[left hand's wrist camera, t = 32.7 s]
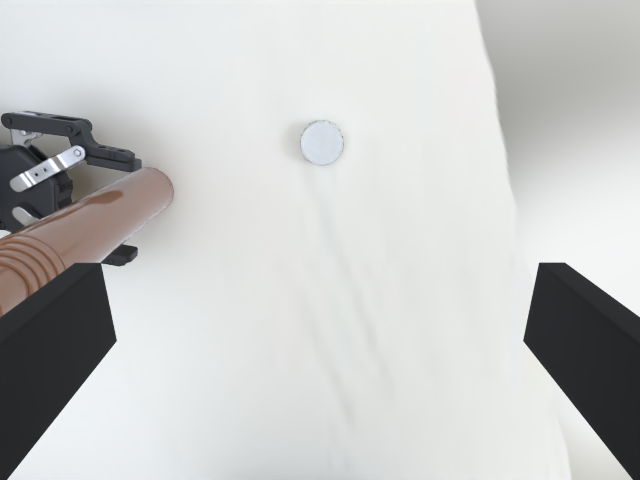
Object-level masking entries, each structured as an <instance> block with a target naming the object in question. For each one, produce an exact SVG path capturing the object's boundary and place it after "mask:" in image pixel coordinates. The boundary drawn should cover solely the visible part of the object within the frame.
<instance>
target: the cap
mask: <svg viewBox="0 0 640 480" xmlns="http://www.w3.org/2000/svg"><path fill="white" fill-rule="evenodd" d="M300 143H301V150H302V153H303V155H304V156H305V158H306V159H307V160H308V161H310V162H311V163H313V164H316V165H328V164H330V163H332V162H334V161H335V160H336V159H337V158H338V157H339V156H340V154H341V152H342V149H343V137H342V136H341V133H340V130H339V129H338V128H337V127H336V125H334V124H332V123H330V121H329V122H328V121H316V122H313V123H310V125H309V126H308V127H307V128H305V130H304V132H303V134H302V138H301V141H300Z"/></svg>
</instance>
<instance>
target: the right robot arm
mask: <svg viewBox="0 0 640 480" xmlns="http://www.w3.org/2000/svg"><path fill="white" fill-rule="evenodd" d="M1 122H2V124H3V125H4V126H5V127H6V128H8V129H10V130H11V137H12V144H13V145H12V146H9V145H4V144H0V230H6V231H9V232H11V233H13V232H15V231H17V230H19V229H21V228H23V227H25V226H27V225H29V224H31V223H33V222H35V221H37V220H39V219H41V218H43V217H45V216H47V215H49V214H51V213H53V212H55V211H57V210H59V209H61V208H63V207H65V206H67V205H69V204H71V203H72V200H71V192H72V188H73V185H72V180H69V177H68V175H67V174H66V173H65V172H66V171H68V170H70V169H72V168H74V167H76V166H78V165H79V164H81V163H82V162H84V161H87V164H89V165H94V166H100V167H105V168H110V169H115V170H121V171H126V172H135V171H137V170H139V169H141V160H140V159H136V158H135V154H134V153H133V152H131V151H129V150H125V149H119V148H114V147H109V146H104V145H100V144H98V143H96V142H95V140H94V139H93V137H92V134H91V131H92V124H91V122H90V121H89V120H87V119H82V118H75V117H67V116H60V115H53V114H45V113H38V112H31V111H22V112H13V113H5V114H3V115H2V116H1ZM43 133H45V134H52V135H60V136H67V137H68V138H69V140H70V143H71V146H72V147H71V148H69V149H67V150H65V151H63V152H62V153H60V154H58V155H56V156H54V157H51V158H48V157H47V156H46V155H45V154H44V153H43V152H41V151H40V150H39V149H38V148H37V147H35V146H34V145H32V144H31V140H32V139H35V138H39V137H41V136H42V134H43ZM137 252H138V248H137V247H134V246H128V245H123V244H122V245H120V246H119V247H118V248H117V249H116V250H114V251H113V252H112V253H111V254H110V255H108V256H107V257H106V258H105V259H104V260H102V261H101V262H100V263H103V264H109V265H114V266H123V265H125V264H126V263H128V262H131V261H132V260H133V259H134V258H135V257H136V256H137Z"/></svg>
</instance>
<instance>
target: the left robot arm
mask: <svg viewBox="0 0 640 480" xmlns="http://www.w3.org/2000/svg"><path fill="white" fill-rule="evenodd" d="M116 341H117V340H116V335H115V330H114V325H113V320H112V315H111V310H110V305H109V301H108V296H107V291H106V286H105V281H104V276H103V271H102V266H101V263H74V264H73V265H71V266H70V267H69V268H67V269H66V270H64V271H63V272H62V273H60V274H59V275H58V276H56V277H55V278H53V279H52V280H51V281H49V282H48V283H47V284H45V285H44V286H43V287H41V288H40V289H38V290H37V291H36V292H34V293H33V294H32V295H30V296H29V297H27V298H26V299H25V300H23V301H22V302H21V303H19V304H18V305H16V306H15V307H14V308H12V309H11V310H10V311H8V312H7V313H6V314H4V315H3V316H1V317H0V480H7V479H8V478H9V476H10V475H11V474H12V473H13V471H14V470H15V469H16V468H17V466H18V465H19V464H20V463H21V461H22V460H23V459H24V458H25V456H26V455H27V454H28V452H29V451H30V450H31V449H32V447H33V446H34V445H35V444H36V442H37V441H38V440H39V439H40V437H41V436H42V435H43V434H44V432H45V431H46V430H47V428H48V427H49V426H50V425H51V423H52V422H53V421H54V420H55V418H56V417H57V416H58V415H59V413H60V412H61V411H62V409H63V408H64V407H65V406H66V404H67V403H68V402H69V401H70V399H71V398H72V397H73V396H74V394H75V393H76V392H77V391H78V389H79V388H80V387H81V385H82V384H83V383H84V382H85V380H86V379H87V378H88V377H89V375H90V374H91V373H92V372H93V370H94V369H95V368H96V367H97V365H98V364H99V363H100V361H101V360H102V359H103V358H104V356H105V355H106V354H107V353H108V351H109V350H110V349H111V348H112V346H113V345H114V344H115V342H116ZM523 341H524V342H525V344H526V345H527V346H528V348H529V349H530V350H531V351H532V353H533V354H534V355H535V356H536V358H537V359H538V360H539V361H540V363H541V364H542V365H543V367H544V368H545V369H546V370H547V372H548V373H549V374H550V375H551V377H552V378H553V379H554V380H555V382H556V383H557V384H558V385H559V387H560V388H561V389H562V391H563V392H564V393H565V394H566V396H567V397H568V398H569V399H570V401H571V402H572V403H573V404H574V406H575V407H576V408H577V409H578V411H579V412H580V413H581V415H582V416H583V417H584V418H585V420H586V421H587V422H588V423H589V425H590V426H591V427H592V428H593V430H594V431H595V432H596V433H597V435H598V436H599V437H600V439H601V440H602V441H603V442H604V444H605V445H606V446H607V447H608V449H609V450H610V451H611V452H612V454H613V455H614V456H615V458H616V459H617V460H618V461H619V463H620V464H621V465H622V466H623V468H624V469H625V470H626V471H627V473H628V474H629V475H630V476H631V478H632V479H633V480H640V317H639V316H637V315H636V314H634V313H633V312H632V311H630V310H629V309H628V308H626V307H625V306H623V305H622V304H621V303H619V302H618V301H617V300H615V299H614V298H612V297H611V296H610V295H608V294H607V293H606V292H604V291H603V290H602V289H600V288H599V287H597V286H596V285H595V284H593V283H592V282H591V281H589V280H588V279H587V278H585V277H584V276H582V275H581V274H580V273H578V272H577V271H575V270H574V269H573V268H571V267H570V266H569V265H567V264H566V263H539V267H538V271H537V276H536V281H535V286H534V291H533V296H532V301H531V305H530V310H529V315H528V320H527V325H526V330H525V335H524V340H523Z"/></svg>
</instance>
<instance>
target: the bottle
mask: <svg viewBox="0 0 640 480" xmlns="http://www.w3.org/2000/svg"><path fill="white" fill-rule="evenodd" d="M172 198H173V187H172V184H171V182H170V180H169V179H168V177H167V176H166V175H165V174H163V173H162V172H161V171H159V170H157V169H154V168H141V169H139V170H137V171H135V172H133V173H131V174H129V175H127V176H125V177H123V178H121V179H119V180H117V181H115V182H113V183H111V184H109V185H107V186H105V187H103V188H101V189H99V190H97V191H95V192H93V193H91V194H89V195H87V196H85V197H83V198H81V199H79V200H77V201H75V202H73V203H71V204H69V205H67V206H65V207H63V208H61V209H59V210H57V211H55V212H53V213H51V214H49V215H47V216H45V217H43V218H41V219H39V220H37V221H35V222H33V223H31V224H29V225H27V226H25V227H23V228H21V229H19V230H17V231H15V232H13V233H11V234H9V235H7V236H5V237H3V238H1V239H0V317H1V316H3V315H4V314H6V313H7V312H8V311H10V310H11V309H12V308H14V307H15V306H16V305H18V304H19V303H21V302H22V301H23V300H25V299H26V298H27V297H29V296H30V295H32V294H33V293H34V292H36V291H37V290H38V289H40V288H41V287H43V286H44V285H45V284H47V283H48V282H49V281H51V280H52V279H53V278H55V277H56V276H58V275H59V274H60V273H62V272H63V271H64V270H66V269H67V268H69V267H70V266H71V265H73V264H74V263H100V262H101V261H102V260H104V259H105V258H106V257H107V256H108V255H110V254H111V253H112V252H113V251H114V250H116V249H117V248H118V247H119V246H120V245H122V244H123V243H124V242H125V241H126V240H128V239H129V238H130V237H131V236H132V235H134V234H135V233H136V232H137V231H138V230H140V229H141V228H142V227H143V226H144V225H146V224H147V223H148V222H149V221H150V220H152V219H153V218H154V217H155V216H156V215H158V214H159V213H160V212H161V211H162V210H164V209H165V208H166V207H167V206H168V205H169V204H170V202H171V201H172Z"/></svg>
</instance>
